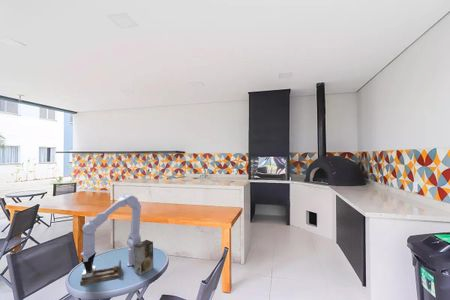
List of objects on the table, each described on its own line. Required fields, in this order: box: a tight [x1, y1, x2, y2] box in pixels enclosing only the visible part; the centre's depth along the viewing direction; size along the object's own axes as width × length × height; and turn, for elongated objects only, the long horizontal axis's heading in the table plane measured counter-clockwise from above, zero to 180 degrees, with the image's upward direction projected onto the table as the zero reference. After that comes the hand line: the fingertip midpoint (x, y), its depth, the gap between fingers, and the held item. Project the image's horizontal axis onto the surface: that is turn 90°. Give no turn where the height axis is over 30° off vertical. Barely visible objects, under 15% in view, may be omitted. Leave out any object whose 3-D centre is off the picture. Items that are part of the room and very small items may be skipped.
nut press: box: [79, 259, 122, 286], centre depth 122 cm, size 19×10×6 cm, turn 110°
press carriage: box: [81, 265, 97, 278], centre depth 120 cm, size 5×8×6 cm, turn 20°
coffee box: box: [134, 239, 154, 276], centre depth 128 cm, size 9×6×16 cm
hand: (89, 268), depth 120 cm, fingers closed on press carriage, 3 cm apart
